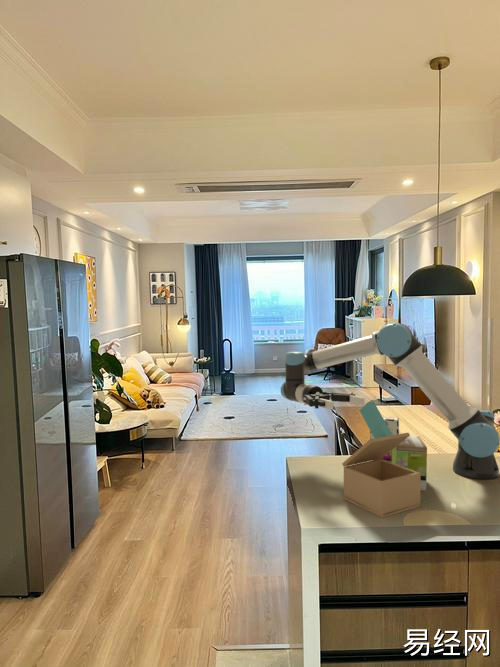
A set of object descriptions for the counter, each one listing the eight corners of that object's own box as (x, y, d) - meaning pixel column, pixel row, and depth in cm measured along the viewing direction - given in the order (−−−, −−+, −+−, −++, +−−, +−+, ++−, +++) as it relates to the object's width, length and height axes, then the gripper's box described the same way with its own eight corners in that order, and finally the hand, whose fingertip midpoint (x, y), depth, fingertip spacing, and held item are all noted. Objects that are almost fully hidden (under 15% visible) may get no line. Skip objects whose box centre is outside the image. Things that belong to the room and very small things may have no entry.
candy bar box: (399, 457, 182) (399, 417, 182) (398, 461, 177) (398, 420, 177) (371, 454, 186) (371, 415, 186) (369, 458, 182) (369, 418, 181)
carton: (343, 498, 140) (343, 466, 140) (380, 488, 148) (380, 458, 148) (381, 517, 126) (381, 482, 126) (420, 506, 134) (420, 473, 134)
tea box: (427, 491, 145) (427, 446, 145) (395, 489, 147) (395, 445, 147) (419, 476, 160) (419, 435, 160) (390, 474, 162) (390, 433, 162)
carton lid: (343, 466, 140) (326, 429, 147) (380, 458, 148) (362, 424, 155) (371, 442, 129) (351, 404, 136) (410, 435, 137) (389, 399, 144)
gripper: (335, 401, 174) (375, 411, 155) (282, 408, 162) (318, 418, 143) (335, 382, 174) (375, 389, 155) (282, 387, 162) (318, 395, 143)
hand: (348, 403), depth 149 cm, fingers open, 13 cm apart
